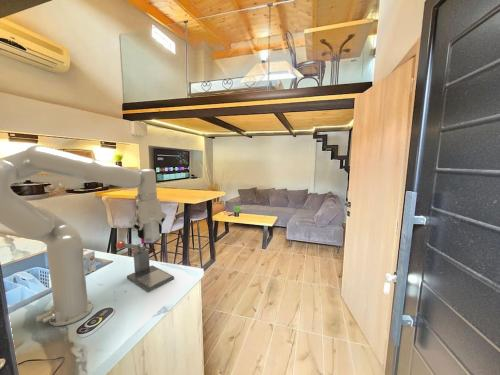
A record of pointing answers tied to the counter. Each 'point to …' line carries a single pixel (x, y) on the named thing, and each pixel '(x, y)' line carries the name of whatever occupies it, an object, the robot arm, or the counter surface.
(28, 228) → the robot arm
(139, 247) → the press lever
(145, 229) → the supplement box
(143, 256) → the press bed
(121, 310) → the counter surface
